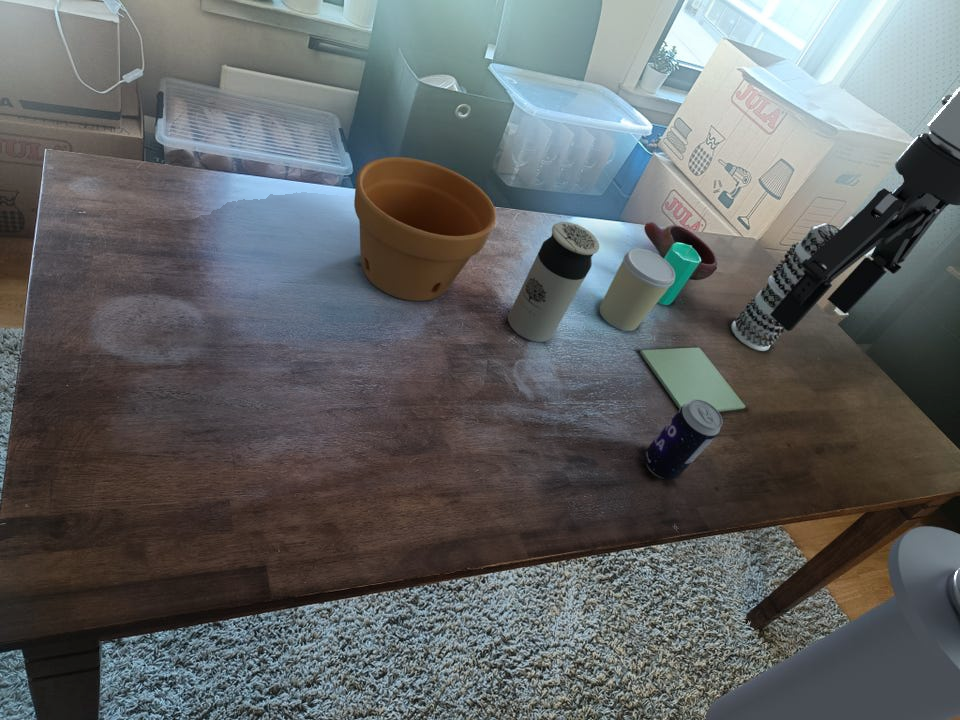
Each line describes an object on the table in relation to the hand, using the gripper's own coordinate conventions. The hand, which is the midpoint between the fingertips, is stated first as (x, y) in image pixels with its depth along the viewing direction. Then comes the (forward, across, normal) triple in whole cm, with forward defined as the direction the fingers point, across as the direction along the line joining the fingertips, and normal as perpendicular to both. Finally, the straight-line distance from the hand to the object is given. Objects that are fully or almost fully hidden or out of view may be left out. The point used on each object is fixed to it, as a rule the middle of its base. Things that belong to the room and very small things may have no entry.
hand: (810, 314), depth 74 cm
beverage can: (+29, +5, 0) cm, 29 cm away
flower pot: (+29, +22, -46) cm, 59 cm away
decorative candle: (+29, -41, -16) cm, 53 cm away
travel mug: (+29, +7, -30) cm, 42 cm away
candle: (+29, -28, -31) cm, 51 cm away
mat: (+29, -16, -11) cm, 35 cm away
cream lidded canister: (+29, -13, -28) cm, 42 cm away
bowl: (+29, -38, -37) cm, 61 cm away
